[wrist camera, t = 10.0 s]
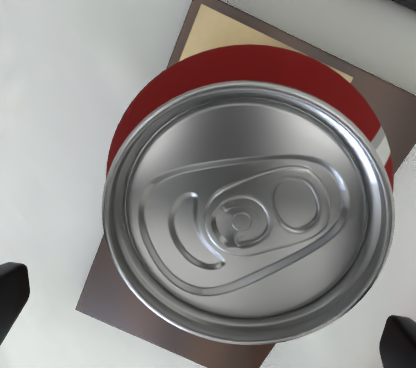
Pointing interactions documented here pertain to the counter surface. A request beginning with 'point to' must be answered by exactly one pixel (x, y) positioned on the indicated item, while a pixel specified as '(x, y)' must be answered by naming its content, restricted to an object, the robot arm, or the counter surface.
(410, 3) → the phone
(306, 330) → the soda can
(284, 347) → the counter surface
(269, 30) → the board
